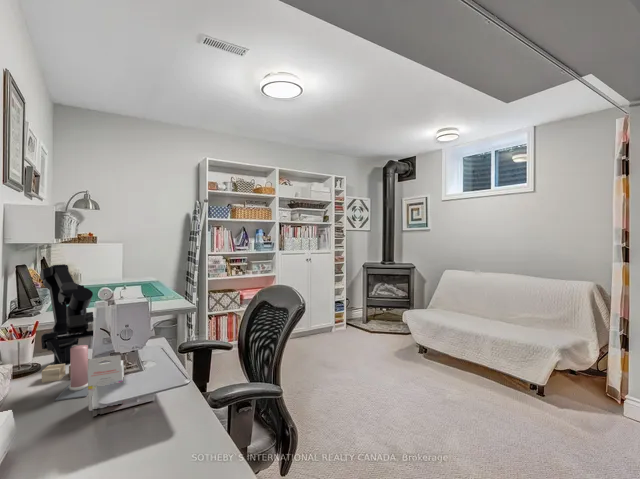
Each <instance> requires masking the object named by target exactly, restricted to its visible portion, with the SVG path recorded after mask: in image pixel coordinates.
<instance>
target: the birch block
mask: <svg viewBox="0 0 640 479" xmlns="http://www.w3.org/2000/svg"><path fill="white" fill-rule="evenodd" d="M65 375H66V364H57V365H50V364H49V365H47V366H46V367H45V368H44V369H42V370H41V383H48V382H55V381H60V380H62V378H63V377H65Z"/></svg>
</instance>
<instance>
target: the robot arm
mask: <svg viewBox="0 0 640 479" xmlns="http://www.w3.org/2000/svg"><path fill="white" fill-rule="evenodd" d="M39 278H40V280H41V281H42V283H43V284H42V285H43V286H44V287H45V289H47V290H49V296H50V301H51V308H52V315H53V321H54V326H52V329H51V331H50V332H45V333H42V335H41V338H40V341H41V349H42V350H47V351H48V352H49V351H51V352H52V353H53V361H52V362H51V363H50V364H49V365H57V364H65V365H70V348H72V347H73V346H78V344H79V341H80V340H79V339H84V338H90V337H94V336H93V330H94V329H93V330H88V329H89V323H94V312H93V311H89V312H87V308H89V307H90V303H91V301H92V298H93V295H94V293H93V291H92V290H91V289H90V288H87V287H85V286H84V285H83V284H82V285H81V284H79V283H76V282H75V281H74V279H73V276H72V275H71V273H70V271H69V266H68V264H63V263H62V264H53V265H51V266H49V267H46V268H45V267H44V268H43V269H41V271H40V273H39Z"/></svg>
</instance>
